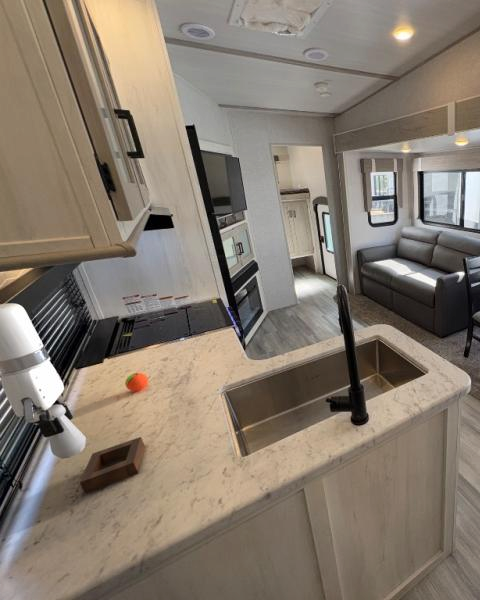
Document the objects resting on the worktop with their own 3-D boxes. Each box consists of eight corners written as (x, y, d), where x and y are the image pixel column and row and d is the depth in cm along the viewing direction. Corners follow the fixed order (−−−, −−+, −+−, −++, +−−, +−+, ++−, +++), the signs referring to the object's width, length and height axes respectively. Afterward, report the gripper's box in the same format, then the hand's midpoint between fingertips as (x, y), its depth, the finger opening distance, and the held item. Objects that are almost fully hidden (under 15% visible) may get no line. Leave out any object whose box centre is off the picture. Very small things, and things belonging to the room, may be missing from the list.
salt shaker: (92, 448, 76) (70, 405, 71) (60, 465, 71) (33, 420, 67) (85, 439, 79) (62, 397, 74) (53, 455, 74) (27, 412, 70)
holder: (85, 493, 79) (79, 482, 78) (98, 464, 88) (92, 453, 87) (138, 473, 84) (133, 462, 83) (145, 446, 93) (140, 436, 92)
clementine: (139, 396, 118) (132, 380, 116) (121, 396, 119) (114, 381, 116) (155, 383, 126) (149, 368, 123) (138, 384, 126) (132, 369, 124)
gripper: (18, 349, 71) (53, 413, 78) (-30, 386, 57) (18, 459, 64) (62, 340, 75) (92, 402, 81) (26, 373, 61) (66, 444, 67)
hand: (59, 426), depth 72 cm, fingers closed on salt shaker, 4 cm apart
